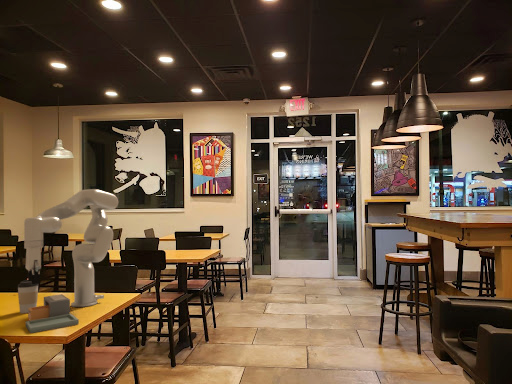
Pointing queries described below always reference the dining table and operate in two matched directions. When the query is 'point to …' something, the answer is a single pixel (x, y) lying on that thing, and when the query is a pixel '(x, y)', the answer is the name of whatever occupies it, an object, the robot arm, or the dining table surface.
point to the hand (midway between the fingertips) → (34, 282)
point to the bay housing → (57, 305)
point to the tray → (51, 323)
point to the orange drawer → (38, 312)
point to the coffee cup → (27, 295)
